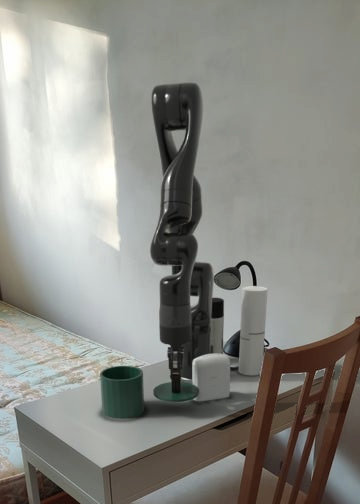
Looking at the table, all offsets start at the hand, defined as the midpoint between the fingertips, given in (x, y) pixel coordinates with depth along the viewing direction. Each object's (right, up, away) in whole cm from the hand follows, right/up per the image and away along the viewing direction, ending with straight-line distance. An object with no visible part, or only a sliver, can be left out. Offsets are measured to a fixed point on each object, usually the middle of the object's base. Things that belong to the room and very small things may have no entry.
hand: (176, 389), depth 131 cm
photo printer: (+9, -2, +11) cm, 14 cm away
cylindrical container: (+22, +6, +30) cm, 38 cm away
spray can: (+11, +9, +38) cm, 40 cm away
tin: (-13, -6, +3) cm, 15 cm away
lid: (0, -1, 0) cm, 1 cm away
